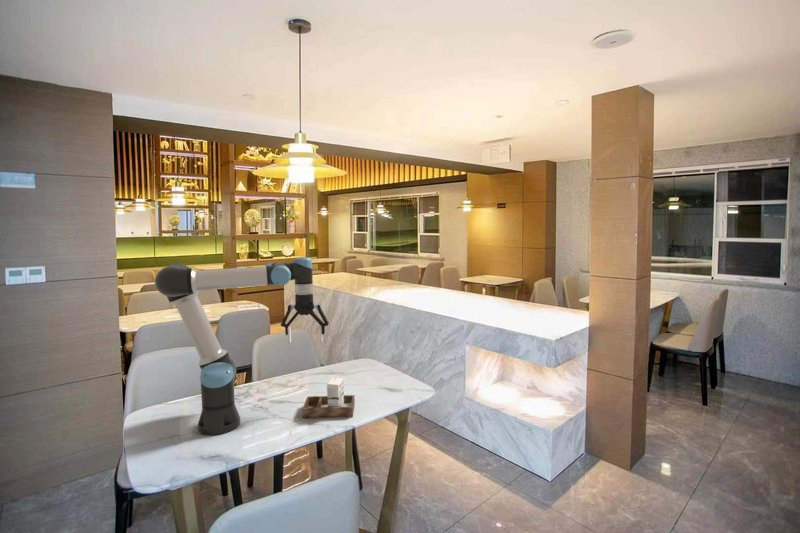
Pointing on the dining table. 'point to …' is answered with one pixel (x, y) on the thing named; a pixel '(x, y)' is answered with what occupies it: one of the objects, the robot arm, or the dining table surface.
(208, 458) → the dining table surface
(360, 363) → the dining table surface
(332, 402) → the ink box
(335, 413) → the organiser
